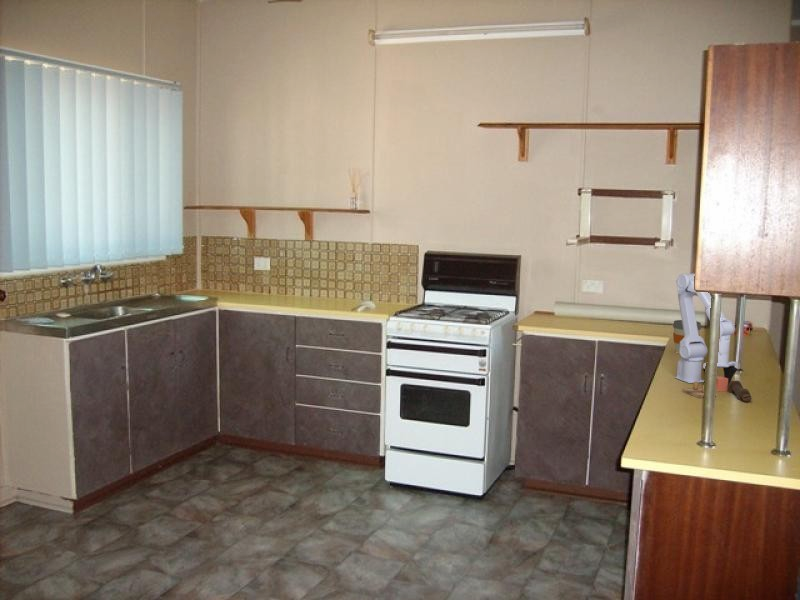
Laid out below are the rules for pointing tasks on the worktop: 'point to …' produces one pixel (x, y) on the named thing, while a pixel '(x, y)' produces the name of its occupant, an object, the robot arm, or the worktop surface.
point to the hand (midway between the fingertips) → (718, 385)
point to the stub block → (695, 391)
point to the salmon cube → (721, 383)
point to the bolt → (739, 391)
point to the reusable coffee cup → (681, 333)
